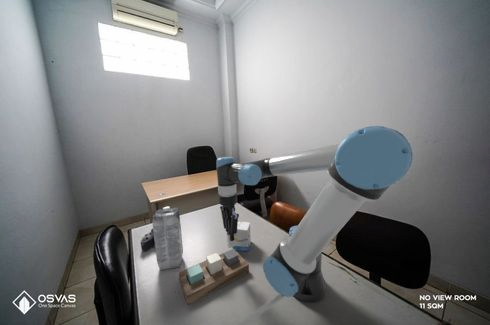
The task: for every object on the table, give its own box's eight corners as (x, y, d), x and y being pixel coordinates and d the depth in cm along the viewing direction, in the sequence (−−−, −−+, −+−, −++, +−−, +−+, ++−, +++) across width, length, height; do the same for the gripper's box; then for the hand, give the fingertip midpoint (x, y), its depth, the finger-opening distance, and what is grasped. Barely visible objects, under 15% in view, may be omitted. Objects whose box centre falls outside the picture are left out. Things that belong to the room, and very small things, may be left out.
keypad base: (248, 271, 74) (248, 264, 74) (187, 304, 61) (186, 296, 60) (234, 254, 85) (233, 248, 85) (179, 279, 71) (178, 272, 71)
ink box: (248, 251, 87) (247, 230, 86) (232, 250, 89) (231, 229, 87) (251, 241, 96) (250, 221, 94) (236, 240, 97) (235, 220, 96)
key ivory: (222, 269, 72) (221, 258, 71) (211, 274, 69) (210, 263, 68) (217, 262, 76) (216, 252, 75) (206, 267, 73) (206, 256, 72)
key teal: (203, 282, 68) (202, 271, 67) (191, 288, 65) (190, 277, 64) (199, 274, 72) (198, 263, 71) (188, 280, 69) (187, 269, 68)
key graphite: (238, 265, 76) (238, 255, 75) (229, 270, 74) (228, 259, 73) (233, 259, 80) (233, 249, 79) (224, 263, 78) (223, 253, 77)
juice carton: (181, 268, 78) (176, 211, 74) (156, 272, 76) (149, 214, 72) (184, 255, 86) (179, 203, 82) (162, 258, 84) (155, 206, 80)
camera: (151, 256, 87) (148, 237, 85) (139, 252, 90) (137, 234, 88) (174, 238, 101) (172, 222, 100) (163, 236, 104) (161, 220, 103)
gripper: (243, 196, 69) (246, 250, 72) (228, 188, 79) (231, 236, 83) (226, 200, 65) (230, 258, 68) (213, 192, 75) (217, 242, 79)
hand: (231, 246), depth 75 cm, fingers closed
